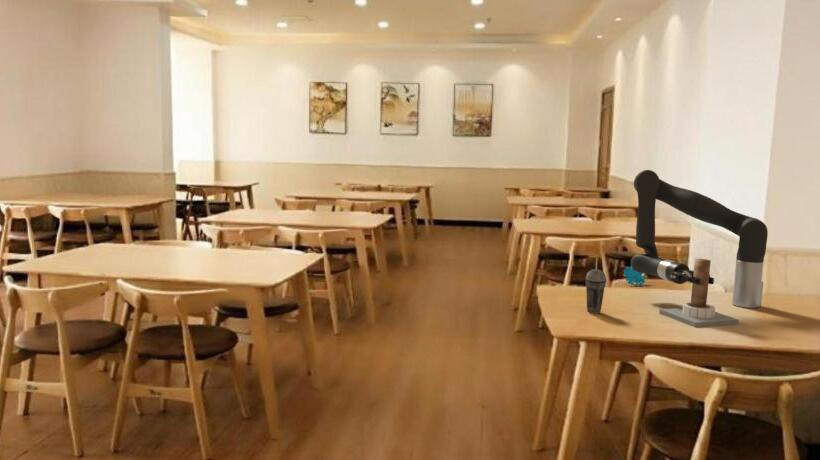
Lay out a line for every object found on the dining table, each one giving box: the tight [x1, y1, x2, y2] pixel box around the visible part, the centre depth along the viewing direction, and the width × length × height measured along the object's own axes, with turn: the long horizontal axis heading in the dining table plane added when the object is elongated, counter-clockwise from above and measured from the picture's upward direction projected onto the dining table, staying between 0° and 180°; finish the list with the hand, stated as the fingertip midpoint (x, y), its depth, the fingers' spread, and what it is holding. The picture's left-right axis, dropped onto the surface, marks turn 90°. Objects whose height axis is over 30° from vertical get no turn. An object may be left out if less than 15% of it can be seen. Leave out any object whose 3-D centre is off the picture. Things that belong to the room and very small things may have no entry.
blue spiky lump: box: [622, 265, 648, 287], centre depth 291 cm, size 11×6×10 cm
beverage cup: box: [584, 256, 607, 315], centre depth 238 cm, size 7×7×20 cm
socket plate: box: [658, 302, 740, 328], centre depth 235 cm, size 18×18×4 cm
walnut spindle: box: [690, 258, 712, 307], centre depth 233 cm, size 5×5×16 cm
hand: (706, 281), depth 231 cm, fingers closed on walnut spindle, 5 cm apart
